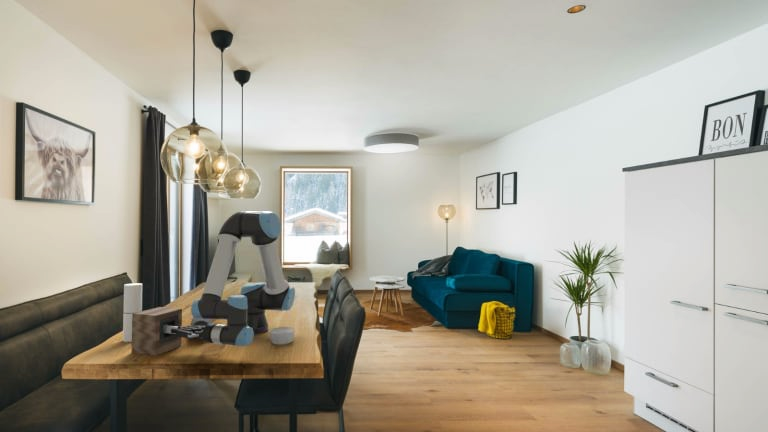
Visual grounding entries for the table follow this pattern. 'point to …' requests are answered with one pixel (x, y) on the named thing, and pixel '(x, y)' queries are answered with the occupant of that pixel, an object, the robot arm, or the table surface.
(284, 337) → the ramekin
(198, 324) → the bluetooth speaker
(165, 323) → the peg
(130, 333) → the cylindrical container
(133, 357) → the table surface
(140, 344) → the housing
